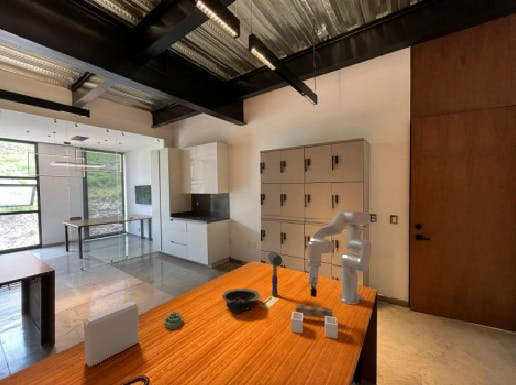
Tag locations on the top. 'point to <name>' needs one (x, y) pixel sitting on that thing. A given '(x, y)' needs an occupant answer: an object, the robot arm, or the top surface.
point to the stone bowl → (240, 299)
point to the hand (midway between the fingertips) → (313, 292)
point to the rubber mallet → (274, 270)
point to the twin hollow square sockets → (330, 325)
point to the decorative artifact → (173, 320)
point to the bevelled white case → (110, 332)
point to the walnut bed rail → (314, 311)
